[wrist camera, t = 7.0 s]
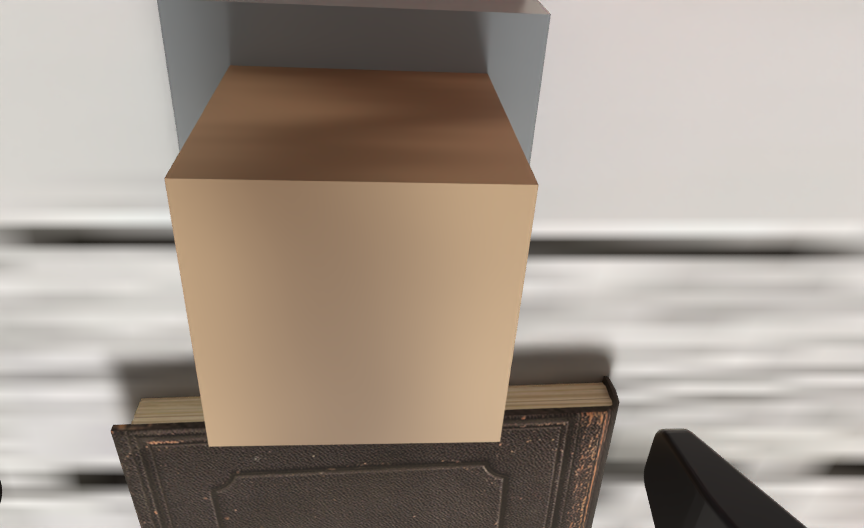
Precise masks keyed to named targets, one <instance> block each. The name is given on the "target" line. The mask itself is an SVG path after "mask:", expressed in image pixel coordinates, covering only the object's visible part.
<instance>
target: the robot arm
mask: <svg viewBox="0 0 864 528" xmlns="http://www.w3.org/2000/svg"><path fill="white" fill-rule="evenodd" d="M644 483H645V488H646V492H647V496H648V500H649V504H650V508H651V513H652V517H653V521H654V525H655V528H807V527H806V526H804V525H803V524H802V523H801V522H800V521H798V520H797V519H796V518H795V517H794V516H792V515H791V514H790V513H789V512H788V511H786V510H785V509H784V508H783V507H782V506H780V505H779V504H778V503H777V502H776V501H774V500H773V499H772V498H771V497H769V496H768V495H767V494H766V493H765V492H763V491H762V490H761V489H760V488H759V487H757V486H756V485H755V484H754V483H753V482H751V481H750V480H749V479H748V478H747V477H745V476H744V475H743V474H742V473H741V472H739V471H738V470H737V469H736V468H735V467H733V466H732V465H731V464H730V463H728V462H727V461H726V460H725V459H724V458H722V457H721V456H720V455H719V454H718V453H716V452H715V451H714V450H713V449H712V448H710V447H709V446H708V445H707V444H706V443H704V442H703V441H702V440H701V439H700V438H698V437H697V436H696V435H695V434H694V433H692V432H691V431H689V430H687V429H661V430H659V431H658V432H657V433H656V434H655V437H654V440H653V443H652V446H651V449H650V452H649V456H648V459H647V462H646V465H645V469H644ZM1 498H2V485H1V481H0V502H1Z"/></svg>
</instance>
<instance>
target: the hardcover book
mask: <svg viewBox="0 0 864 528" xmlns="http://www.w3.org/2000/svg"><path fill="white" fill-rule="evenodd" d="M618 406H619V399H618V396H617V392H616V389H615V388H614V386H613V384H612V382H611V381H610V379H609V378H608V377H607V376H604V377H603V382H602V383H576V384H547V385H517V386H508V391H507V398H506V404H505V411H504V418H503V424H502V431H501V438H500V442H459V443H397V444H336V445H274V446H212V447H209V444H208V438H207V432H206V426H205V420H204V414H203V408H202V402H201V396H197V397H168V398H141V402H139V405H138V408H137V410H136V412H135V416H134V420H133V421H132V424H125V425H113V427H112V429H111V434H112V437H113V440H114V443H115V447H116V450H117V453H118V456H119V459H120V462H121V466H122V469H123V472H124V475H125V478H126V481H127V484H128V488H129V491H130V494H131V497H132V500H133V503H134V506H135V510H136V513H137V516H138V519H139V522H140V525H141V528H591V527H592V523H593V518H594V514H595V509H596V505H597V500H598V496H599V491H600V487H601V482H602V478H603V473H604V469H605V464H606V460H607V455H608V451H609V446H610V442H611V438H612V433H613V429H614V424H615V420H616V415H617V411H618Z"/></svg>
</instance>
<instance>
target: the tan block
mask: <svg viewBox="0 0 864 528" xmlns="http://www.w3.org/2000/svg"><path fill="white" fill-rule="evenodd" d="M165 184H166V191H167V197H168V203H169V209H170V215H171V221H172V227H173V233H174V239H175V245H176V251H177V257H178V263H179V269H180V275H181V281H182V287H183V293H184V299H185V305H186V311H187V318H188V324H189V330H190V336H191V342H192V348H193V354H194V360H195V366H196V372H197V378H198V384H199V390H200V396H201V402H202V408H203V414H204V420H205V426H206V432H207V438H208V444H209V447H212V446H274V445H336V444H397V443H459V442H500V438H501V431H502V424H503V418H504V411H505V404H506V398H507V391H508V384H509V378H510V371H511V364H512V358H513V351H514V344H515V338H516V331H517V324H518V318H519V311H520V304H521V298H522V291H523V284H524V278H525V271H526V264H527V258H528V251H529V244H530V238H531V231H532V224H533V218H534V211H535V204H536V198H537V191H538V183H537V181H536V179H535V176H534V174H533V172H532V170H531V168H530V165H529V163H528V161H527V159H526V157H525V154H524V152H523V150H522V148H521V146H520V143H519V141H518V139H517V137H516V135H515V132H514V130H513V128H512V126H511V124H510V121H509V119H508V117H507V115H506V113H505V110H504V108H503V106H502V104H501V102H500V99H499V97H498V95H497V93H496V91H495V88H494V86H493V84H492V82H491V80H490V77H489V75H488V74H484V73H453V72H422V71H390V70H359V69H328V68H296V67H265V66H234V65H230V66H229V68H228V69H227V71H226V73H225V74H224V76H223V78H222V80H221V81H220V83H219V85H218V87H217V88H216V90H215V92H214V94H213V95H212V97H211V99H210V100H209V102H208V104H207V106H206V107H205V109H204V111H203V113H202V114H201V116H200V118H199V120H198V121H197V123H196V125H195V126H194V128H193V130H192V132H191V133H190V135H189V137H188V139H187V140H186V142H185V144H184V145H183V147H182V149H181V151H180V152H179V154H178V156H177V158H176V159H175V161H174V163H173V165H172V166H171V168H170V170H169V171H168V173H167V175H166V177H165Z"/></svg>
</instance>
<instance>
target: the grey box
mask: <svg viewBox="0 0 864 528" xmlns="http://www.w3.org/2000/svg"><path fill="white" fill-rule="evenodd" d="M157 3H158V10H159V17H160V23H161V30H162V37H163V43H164V50H165V57H166V63H167V70H168V77H169V84H170V90H171V97H172V104H173V110H174V117H175V124H176V130H177V137H178V144H179V150H180V151H181V149H182V147H183V145H184V144H185V142H186V140H187V139H188V137H189V135H190V133H191V132H192V130H193V128H194V126H195V125H196V123H197V121H198V120H199V118H200V116H201V114H202V113H203V111H204V109H205V107H206V106H207V104H208V102H209V100H210V99H211V97H212V95H213V94H214V92H215V90H216V88H217V87H218V85H219V83H220V81H221V80H222V78H223V76H224V74H225V73H226V71H227V69H228V68H229V66H230V65H234V66H265V67H296V68H328V69H359V70H390V71H422V72H453V73H484V74H488V75H489V77H490V80H491V82H492V84H493V86H494V88H495V91H496V93H497V95H498V97H499V99H500V102H501V104H502V106H503V108H504V110H505V113H506V115H507V117H508V119H509V121H510V124H511V126H512V128H513V130H514V132H515V135H516V137H517V139H518V141H519V143H520V146H521V148H522V150H523V152H524V154H525V157H526V159H527V161H528V163H529V165H530V158H531V151H532V144H533V137H534V130H535V123H536V115H537V108H538V101H539V94H540V87H541V80H542V72H543V65H544V58H545V51H546V44H547V37H548V29H549V22H550V15H551V14H550V13H549V12H548V11H547V10H546V9H545V8H544V7H543V5H542V4H541V3H540V2H539V1H538V0H157Z"/></svg>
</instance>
